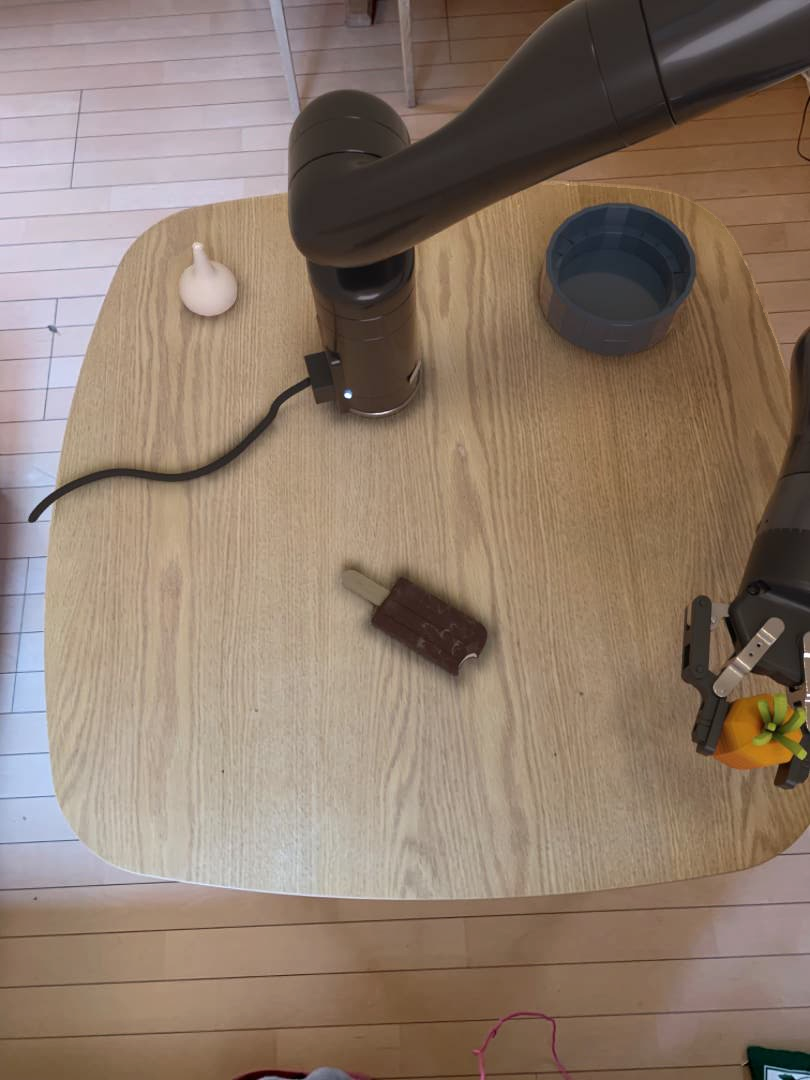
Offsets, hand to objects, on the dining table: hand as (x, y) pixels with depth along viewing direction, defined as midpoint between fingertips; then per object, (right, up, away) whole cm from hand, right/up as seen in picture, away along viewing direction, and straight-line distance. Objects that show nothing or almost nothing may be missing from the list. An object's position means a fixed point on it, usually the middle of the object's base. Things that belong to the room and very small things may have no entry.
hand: (744, 769), depth 57 cm
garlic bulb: (-44, +42, +37) cm, 72 cm away
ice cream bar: (-22, +8, +24) cm, 34 cm away
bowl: (-1, +42, +35) cm, 55 cm away
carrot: (+1, -1, +9) cm, 9 cm away
